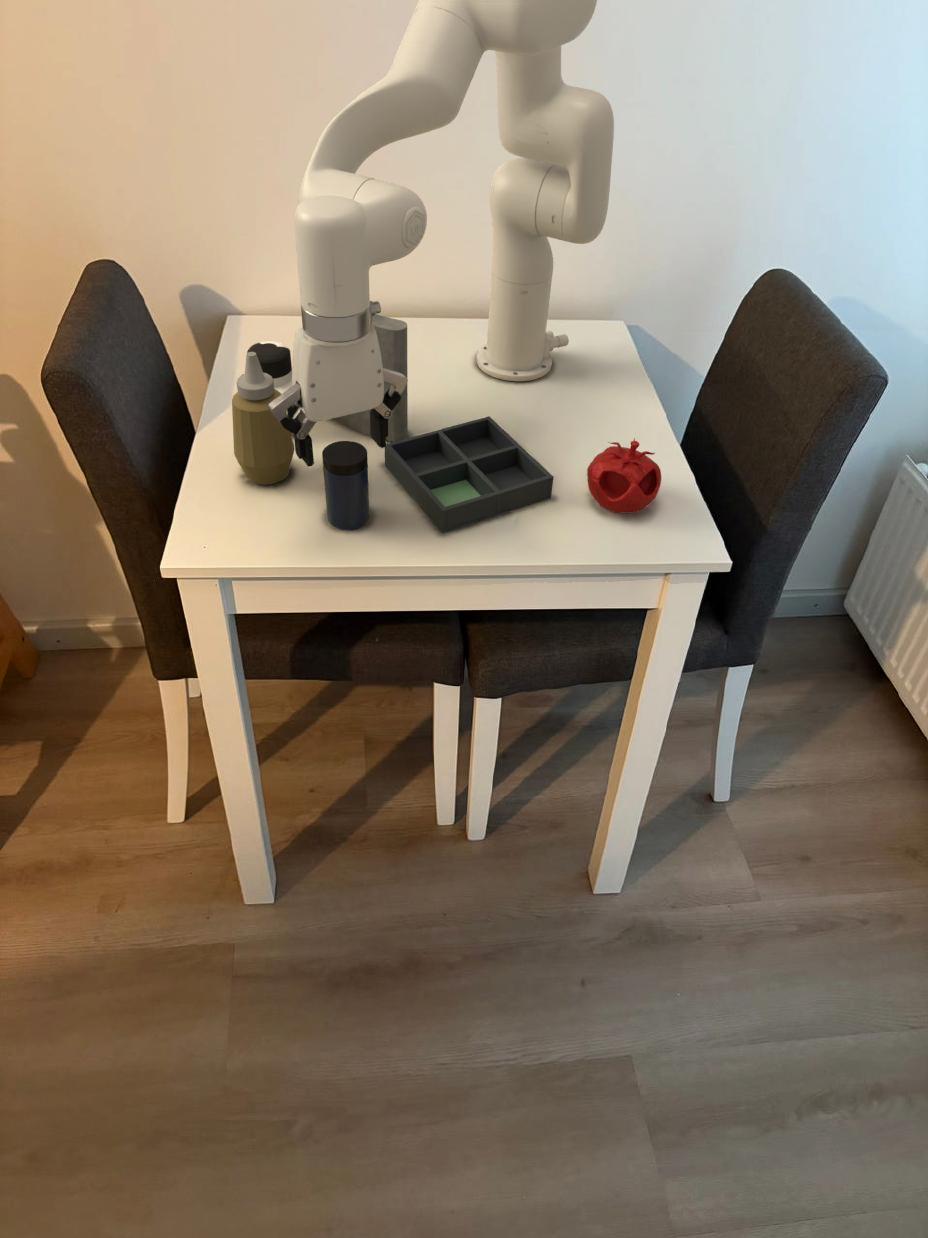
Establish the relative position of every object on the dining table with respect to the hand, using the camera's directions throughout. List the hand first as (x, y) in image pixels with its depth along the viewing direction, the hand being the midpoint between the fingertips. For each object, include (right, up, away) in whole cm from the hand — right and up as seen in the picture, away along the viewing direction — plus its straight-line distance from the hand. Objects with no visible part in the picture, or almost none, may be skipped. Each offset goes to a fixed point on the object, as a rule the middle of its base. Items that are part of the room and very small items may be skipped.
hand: (342, 451), depth 110 cm
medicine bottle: (-13, +9, +23) cm, 28 cm away
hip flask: (-1, +9, +24) cm, 25 cm away
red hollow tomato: (+36, -4, +13) cm, 39 cm away
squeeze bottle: (-12, -1, +14) cm, 19 cm away
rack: (+15, -2, +14) cm, 21 cm away
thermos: (0, -7, +7) cm, 10 cm away
